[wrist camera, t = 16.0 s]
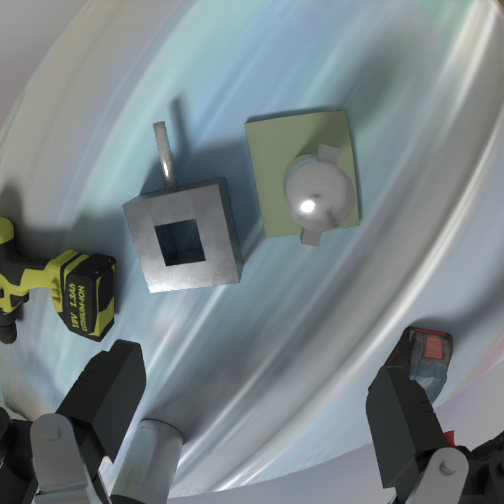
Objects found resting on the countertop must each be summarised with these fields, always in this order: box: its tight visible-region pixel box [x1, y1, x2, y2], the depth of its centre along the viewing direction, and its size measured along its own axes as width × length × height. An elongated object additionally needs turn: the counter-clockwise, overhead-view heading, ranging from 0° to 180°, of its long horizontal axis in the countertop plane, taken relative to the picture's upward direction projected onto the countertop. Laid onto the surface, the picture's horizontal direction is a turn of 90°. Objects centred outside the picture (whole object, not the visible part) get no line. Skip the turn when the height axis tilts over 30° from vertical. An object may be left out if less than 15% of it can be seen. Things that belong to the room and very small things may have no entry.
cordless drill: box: [0, 217, 116, 345], centre depth 37 cm, size 7×25×25 cm
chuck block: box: [123, 121, 244, 292], centre depth 31 cm, size 17×10×4 cm, turn 11°
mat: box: [244, 110, 359, 238], centre depth 30 cm, size 12×10×1 cm
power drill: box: [368, 327, 504, 504], centre depth 27 cm, size 9×23×25 cm, turn 166°
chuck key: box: [283, 143, 355, 246], centre depth 25 cm, size 5×7×11 cm
